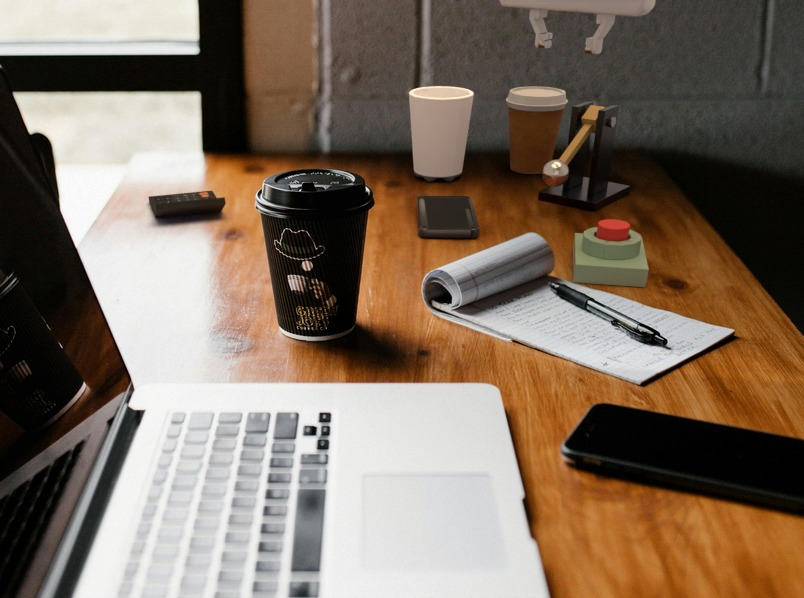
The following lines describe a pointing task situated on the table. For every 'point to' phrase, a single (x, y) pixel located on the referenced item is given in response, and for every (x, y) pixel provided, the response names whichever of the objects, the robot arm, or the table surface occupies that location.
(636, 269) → the button block
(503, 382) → the table surface
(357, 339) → the table surface
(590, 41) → the robot arm
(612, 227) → the button
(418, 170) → the cup
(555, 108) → the disposable coffee cup
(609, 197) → the switch bracket
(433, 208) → the phone
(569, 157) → the switch lever
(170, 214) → the calculator
